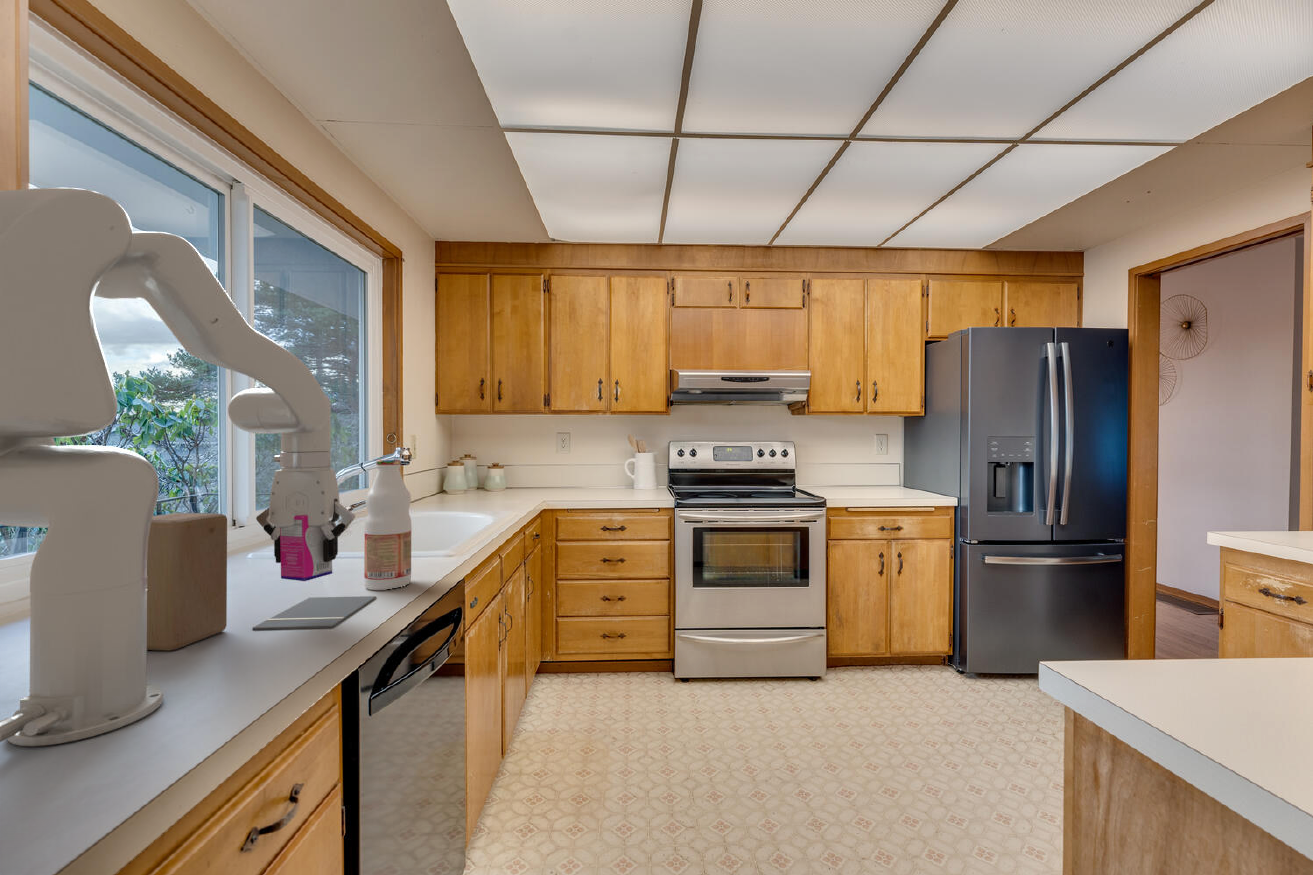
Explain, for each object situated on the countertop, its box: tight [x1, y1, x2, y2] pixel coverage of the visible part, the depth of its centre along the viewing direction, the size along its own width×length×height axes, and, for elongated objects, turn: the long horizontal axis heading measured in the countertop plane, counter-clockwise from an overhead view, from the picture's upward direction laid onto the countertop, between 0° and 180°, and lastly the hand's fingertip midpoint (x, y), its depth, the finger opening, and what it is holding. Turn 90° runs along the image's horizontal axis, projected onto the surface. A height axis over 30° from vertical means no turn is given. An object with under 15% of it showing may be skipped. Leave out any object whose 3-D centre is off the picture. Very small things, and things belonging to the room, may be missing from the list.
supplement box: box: [280, 515, 333, 582], centre depth 99 cm, size 6×6×12 cm
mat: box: [252, 595, 377, 631], centre depth 104 cm, size 18×13×1 cm
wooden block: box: [147, 512, 228, 652], centre depth 89 cm, size 10×10×20 cm
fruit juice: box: [363, 459, 413, 591], centre depth 123 cm, size 9×9×28 cm
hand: (306, 560), depth 99 cm, fingers closed on supplement box, 7 cm apart
